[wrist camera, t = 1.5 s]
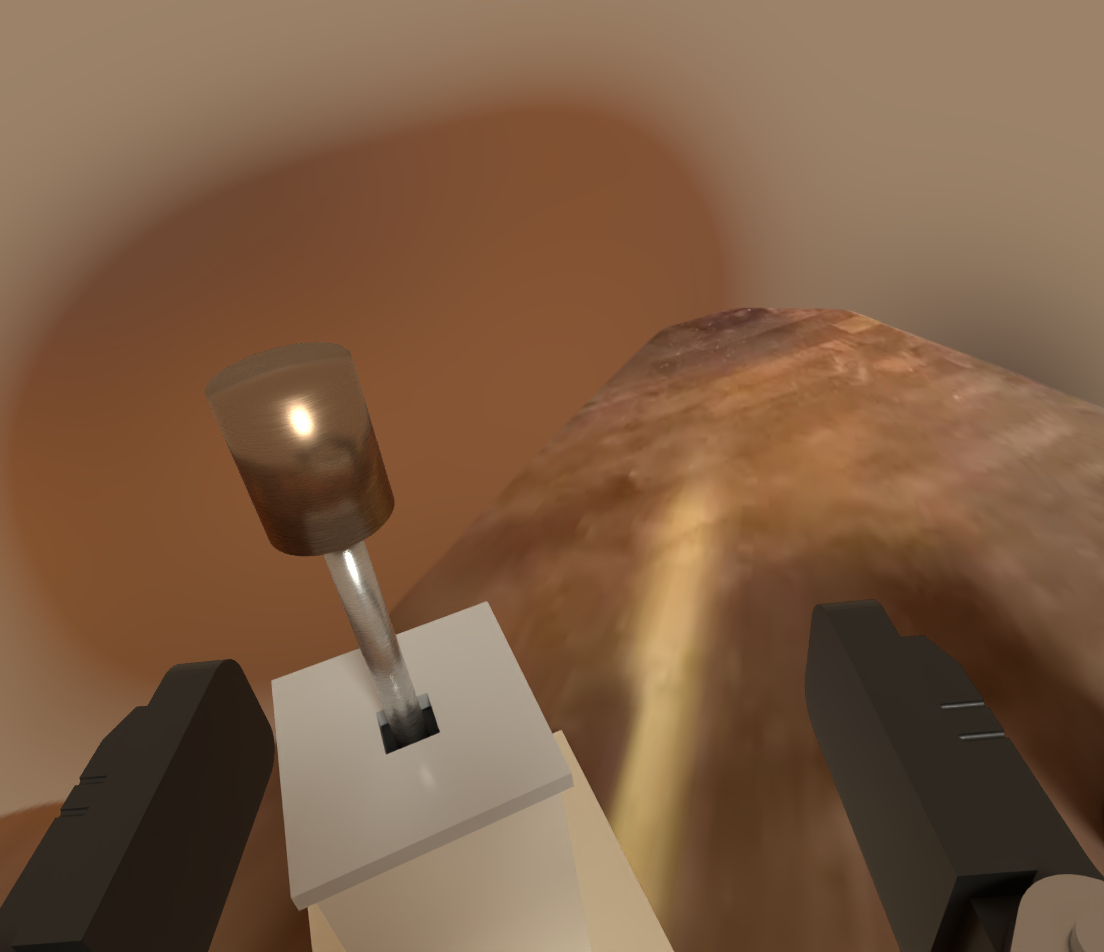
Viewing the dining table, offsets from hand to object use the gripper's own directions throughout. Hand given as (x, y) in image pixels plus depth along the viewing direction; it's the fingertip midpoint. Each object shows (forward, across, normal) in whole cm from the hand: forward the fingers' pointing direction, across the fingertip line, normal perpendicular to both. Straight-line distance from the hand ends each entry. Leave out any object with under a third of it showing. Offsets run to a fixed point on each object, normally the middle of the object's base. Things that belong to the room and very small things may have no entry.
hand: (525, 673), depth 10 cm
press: (+16, +8, +40) cm, 44 cm away
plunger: (+16, +9, +25) cm, 31 cm away
